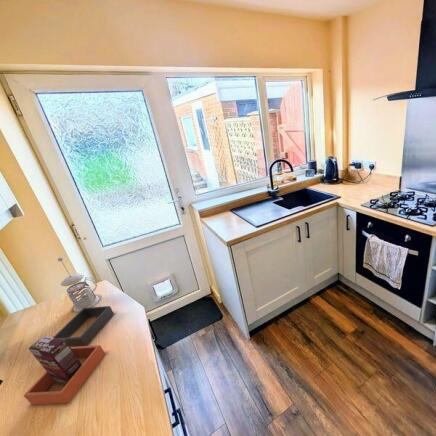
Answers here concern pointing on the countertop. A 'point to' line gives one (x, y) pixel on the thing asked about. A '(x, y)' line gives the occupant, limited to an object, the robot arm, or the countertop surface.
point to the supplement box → (56, 358)
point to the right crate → (91, 331)
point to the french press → (86, 299)
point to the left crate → (66, 394)
